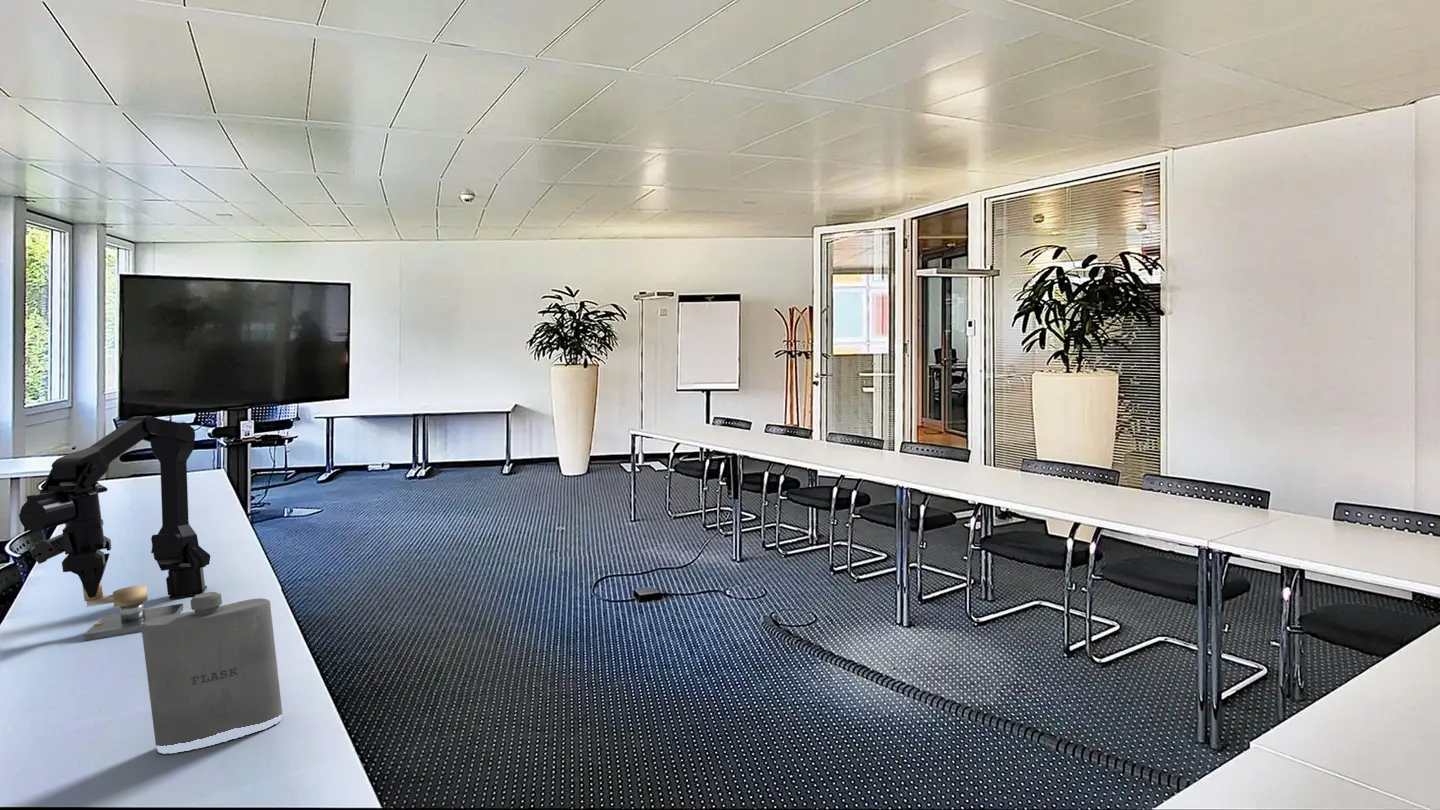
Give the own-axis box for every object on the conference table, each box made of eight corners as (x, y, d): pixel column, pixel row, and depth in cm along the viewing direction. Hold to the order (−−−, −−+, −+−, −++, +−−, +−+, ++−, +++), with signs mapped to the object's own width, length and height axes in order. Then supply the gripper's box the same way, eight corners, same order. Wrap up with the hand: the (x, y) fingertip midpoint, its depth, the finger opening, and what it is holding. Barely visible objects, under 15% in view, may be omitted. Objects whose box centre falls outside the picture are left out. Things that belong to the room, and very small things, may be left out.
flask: (155, 762, 105) (136, 612, 104) (157, 745, 110) (140, 601, 109) (284, 727, 113) (269, 587, 112) (281, 712, 118) (266, 578, 117)
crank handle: (150, 595, 169) (146, 563, 169) (145, 602, 164) (141, 569, 164) (89, 605, 165) (85, 572, 164) (82, 613, 160) (77, 579, 159)
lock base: (183, 608, 175) (181, 588, 175) (169, 626, 163) (167, 605, 163) (105, 621, 169) (102, 600, 169) (84, 640, 158) (82, 618, 157)
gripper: (38, 518, 165) (49, 592, 166) (22, 534, 149) (33, 616, 150) (106, 509, 171) (116, 581, 172) (97, 523, 155) (108, 603, 156)
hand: (93, 594), depth 163 cm, fingers open, 3 cm apart
